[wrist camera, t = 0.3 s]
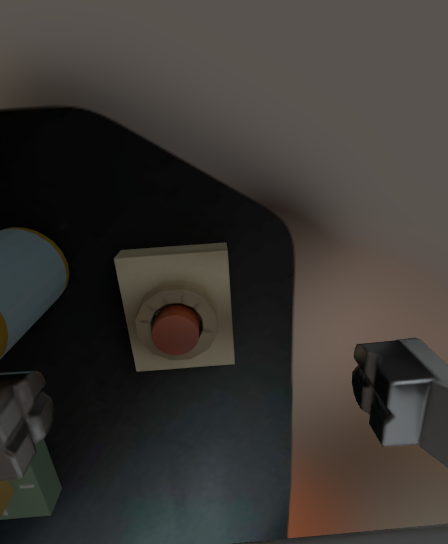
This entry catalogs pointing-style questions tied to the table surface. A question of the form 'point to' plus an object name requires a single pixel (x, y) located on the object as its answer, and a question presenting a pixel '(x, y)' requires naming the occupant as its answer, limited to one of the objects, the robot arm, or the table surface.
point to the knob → (5, 495)
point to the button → (176, 330)
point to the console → (35, 488)
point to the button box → (177, 301)
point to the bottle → (27, 281)
